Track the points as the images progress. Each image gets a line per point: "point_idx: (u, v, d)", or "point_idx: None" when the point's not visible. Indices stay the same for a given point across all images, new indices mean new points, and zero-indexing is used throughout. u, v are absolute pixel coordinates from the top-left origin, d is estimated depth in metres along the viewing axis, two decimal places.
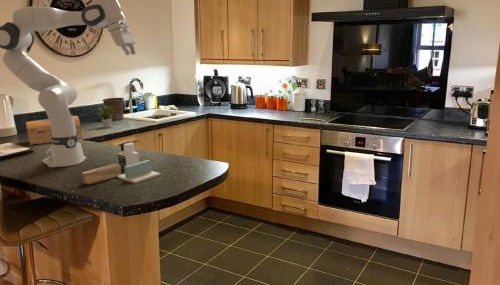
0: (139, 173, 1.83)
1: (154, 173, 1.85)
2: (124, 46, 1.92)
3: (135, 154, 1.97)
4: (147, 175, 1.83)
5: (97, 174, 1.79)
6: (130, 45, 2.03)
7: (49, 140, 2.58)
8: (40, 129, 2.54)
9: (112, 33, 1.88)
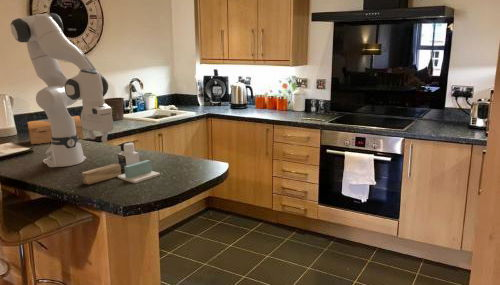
0: (139, 173, 1.83)
1: (154, 173, 1.85)
2: (106, 132, 1.75)
3: (135, 154, 1.97)
4: (147, 175, 1.83)
5: (97, 174, 1.79)
6: None
7: (50, 140, 2.58)
8: (41, 129, 2.54)
9: (104, 117, 1.70)
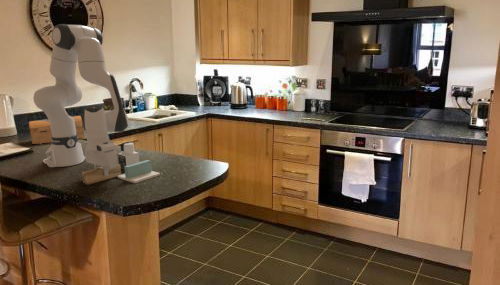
0: (139, 173, 1.83)
1: (154, 173, 1.85)
2: (108, 167, 1.80)
3: (135, 154, 1.97)
4: (147, 175, 1.83)
5: (97, 174, 1.79)
6: None
7: None
8: (42, 129, 2.54)
9: (108, 154, 1.74)
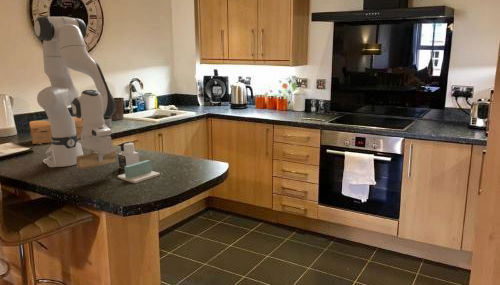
0: (139, 173, 1.83)
1: (154, 173, 1.85)
2: None
3: (135, 154, 1.97)
4: (147, 175, 1.83)
5: (91, 159, 1.77)
6: None
7: None
8: (43, 129, 2.54)
9: (102, 140, 1.72)
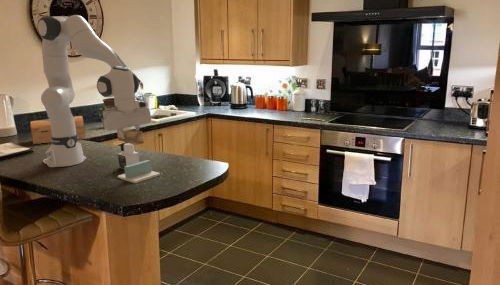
0: (139, 173, 1.83)
1: (154, 173, 1.85)
2: None
3: (135, 154, 1.97)
4: (147, 175, 1.83)
5: None
6: None
7: None
8: (43, 129, 2.55)
9: None
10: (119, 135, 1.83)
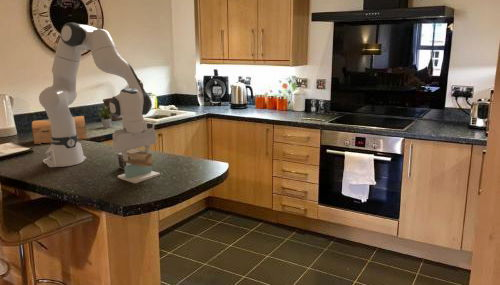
0: (139, 173, 1.83)
1: (154, 173, 1.85)
2: None
3: None
4: (147, 175, 1.83)
5: None
6: None
7: None
8: (45, 129, 2.55)
9: None
10: None
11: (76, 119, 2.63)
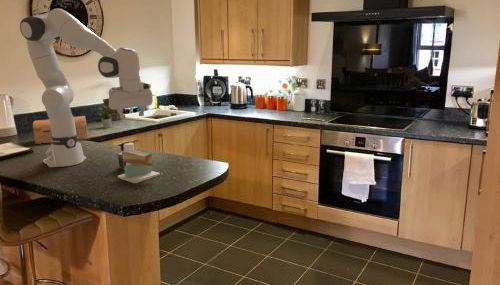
0: (139, 173, 1.83)
1: (154, 173, 1.85)
2: None
3: None
4: (147, 175, 1.83)
5: None
6: None
7: None
8: (45, 129, 2.55)
9: None
10: (125, 157, 1.85)
11: (77, 119, 2.63)
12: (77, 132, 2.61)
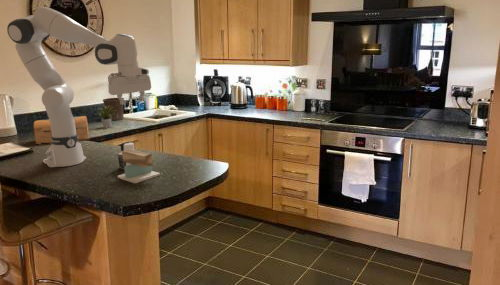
0: (139, 173, 1.83)
1: (154, 173, 1.85)
2: None
3: None
4: (147, 175, 1.83)
5: None
6: None
7: None
8: (46, 128, 2.55)
9: None
10: (125, 157, 1.85)
11: (78, 119, 2.62)
12: (78, 132, 2.61)
